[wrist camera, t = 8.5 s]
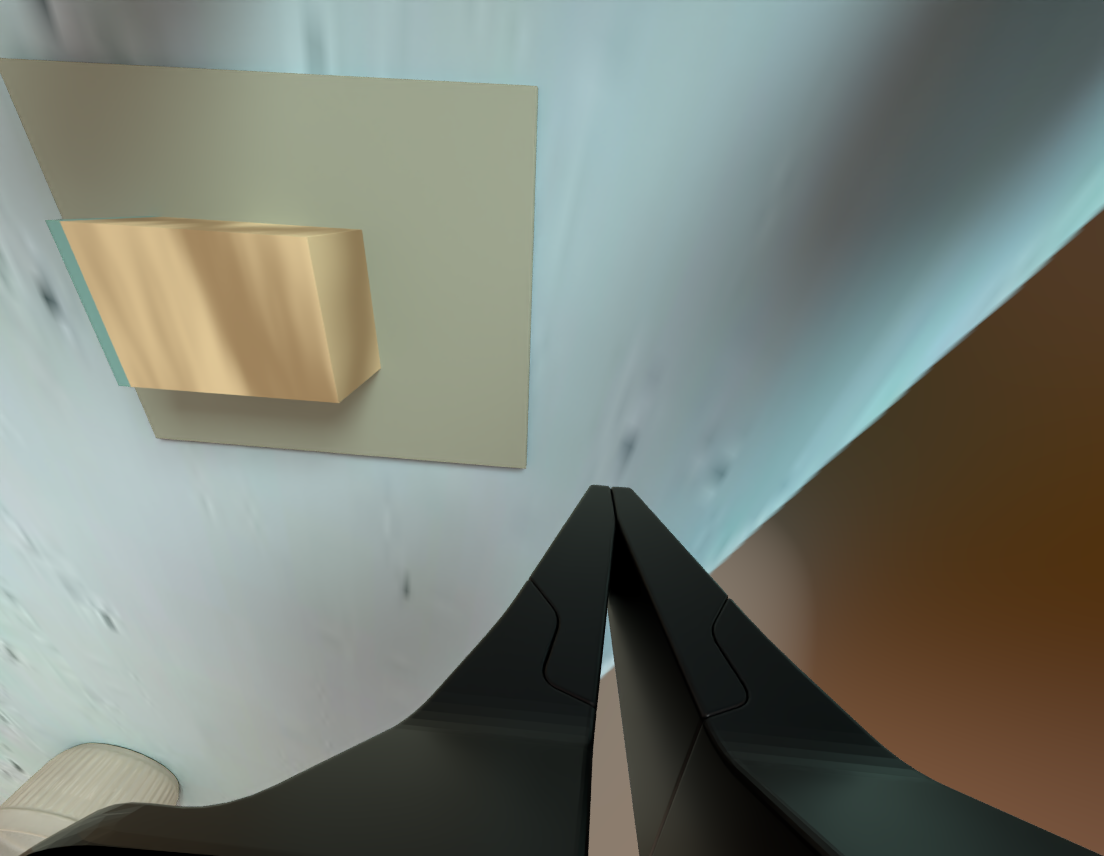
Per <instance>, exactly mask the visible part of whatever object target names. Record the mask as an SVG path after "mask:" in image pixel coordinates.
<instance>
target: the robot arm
mask: <svg viewBox="0 0 1104 856" xmlns="http://www.w3.org/2000/svg"><path fill="white" fill-rule="evenodd" d="M607 608H608V616H609V624H610V632H611V639H612V647H613V655H614V663H615V669H616V678H617V685H618V693H619V701H620V708H621V717H622V724H623V732H624V740H625V748H626V755H627V763H628V771H629V778H630V787H631V794H632V802H633V810H634V818H635V825H636V833H637V840H638V849H639V856H1102V855H1100V854H1098V853H1096V852H1093V851H1091V850H1089V849H1087V848H1084V847H1082V846H1080V845H1078V844H1075V843H1073V842H1071V841H1069V840H1066V839H1064V838H1062V837H1060V836H1057V835H1055V834H1053V833H1051V832H1048V831H1046V830H1044V829H1042V828H1039V827H1037V826H1035V825H1033V824H1030V823H1028V822H1026V821H1024V820H1021V819H1019V818H1017V817H1015V816H1012V815H1010V814H1008V813H1006V812H1003V811H1001V810H999V809H997V808H994V807H992V806H990V805H988V804H985V803H983V802H981V801H979V800H977V799H974V798H972V797H970V796H967V795H965V794H963V793H961V792H958V791H956V790H954V789H952V788H950V787H947V786H945V785H943V784H941V783H939V782H937V781H935V780H933V779H931V778H929V777H927V776H925V775H924V774H922V773H920V772H918V771H917V770H915V769H914V768H912V767H911V766H909V765H908V764H906V763H905V762H903V761H902V760H900V759H899V758H898V757H896V756H895V755H894V754H892V753H891V752H890V751H889V750H887V749H886V748H885V747H884V746H883V745H881V744H880V743H879V742H878V741H877V740H876V739H875V738H873V737H872V736H871V735H870V734H869V733H868V732H867V731H866V730H865V729H864V728H862V726H860V725H859V724H858V723H857V722H856V721H855V720H854V719H853V718H852V717H851V716H850V715H849V714H847V713H846V712H845V711H844V710H843V709H842V708H841V707H840V706H839V705H838V704H837V703H836V702H835V701H833V699H831V698H830V697H829V696H828V695H827V694H826V693H825V692H824V691H823V690H822V689H821V688H820V687H819V686H817V685H816V684H815V683H814V682H813V681H812V680H811V679H810V678H809V677H808V676H807V675H806V674H805V673H803V672H802V671H801V670H800V669H799V668H798V667H797V666H796V665H795V664H794V663H793V662H792V661H791V660H790V659H789V658H788V657H787V656H786V655H785V654H784V653H782V652H781V651H780V650H779V649H778V648H777V647H776V646H775V645H774V644H773V643H772V642H771V641H770V640H769V639H768V638H767V637H766V636H765V635H764V634H763V633H762V632H761V631H760V629H759V628H758V627H757V626H756V625H755V624H754V623H753V622H752V621H751V620H750V619H749V618H748V617H747V616H746V615H745V614H744V613H743V611H742V610H741V609H740V608H739V607H738V606H737V605H736V604H735V603H734V601H733V600H732V599H728V595H727V594H726V593H725V592H724V591H723V590H722V588H721V587H720V586H719V585H718V584H717V583H716V582H715V581H714V580H713V578H712V577H711V576H710V575H709V574H708V573H707V572H706V571H705V570H704V568H703V567H702V566H701V565H700V564H699V563H698V562H697V561H696V560H695V558H694V557H693V556H692V555H691V554H690V553H689V552H688V551H687V550H686V549H685V547H684V546H683V545H682V544H681V543H680V542H679V541H678V540H677V539H676V537H675V536H674V535H673V534H672V533H671V532H670V531H669V530H668V529H667V527H666V526H665V525H664V524H663V523H662V522H661V521H660V520H659V519H658V517H657V516H656V515H655V514H654V513H653V512H652V511H651V510H650V509H649V508H648V506H647V505H646V504H645V503H644V502H643V501H642V500H641V499H640V498H639V496H638V495H637V494H636V493H635V492H634V491H633V490H632V489H631V488H626V487H612V488H611V489H610V487H609V486H602V485H591V486H590V487H589V488H588V490H587V491H586V493H585V494H584V496H583V497H582V499H581V500H580V502H579V503H578V505H577V506H576V508H575V509H574V511H573V512H572V514H571V515H570V517H569V518H568V520H567V521H566V523H565V524H564V526H563V527H562V529H561V530H560V532H559V533H558V535H557V536H556V538H555V540H554V541H553V543H552V544H551V546H550V547H549V549H548V550H547V552H546V553H545V555H544V556H543V558H542V559H541V561H540V562H539V564H538V565H537V567H536V568H535V570H534V571H533V573H532V574H531V576H530V577H529V580H528V581H526V583H525V584H524V586H523V587H522V589H521V590H520V592H519V593H518V595H517V596H516V598H515V599H514V600H513V602H512V603H511V605H510V606H509V607H508V609H507V610H506V611H505V613H504V614H503V615H502V617H501V618H500V619H499V620H498V621H497V623H496V624H495V625H494V626H493V627H492V628H491V630H490V631H489V632H488V633H487V634H486V636H485V637H484V638H483V639H482V640H481V641H480V642H479V643H478V645H477V646H476V647H475V648H474V649H473V650H472V651H471V652H470V654H469V655H468V656H467V657H466V658H465V659H464V660H463V661H462V662H461V664H460V665H459V666H458V667H457V668H456V669H455V670H454V671H453V672H452V674H451V675H450V676H449V677H448V678H447V679H446V680H445V681H444V682H443V684H442V685H441V686H440V687H439V688H438V689H437V690H436V691H435V692H434V694H433V695H432V696H431V697H430V698H429V699H428V700H427V701H426V702H425V703H424V704H423V705H422V706H421V707H420V708H419V709H418V710H416V711H415V712H414V713H413V714H411V715H410V716H409V717H408V718H406V719H405V720H404V721H402V722H401V723H399V724H398V725H396V726H394V727H392V728H391V729H389V730H387V731H385V732H382V733H380V734H378V735H376V736H374V737H372V738H370V739H368V740H366V741H364V742H362V743H360V744H358V745H356V746H354V747H352V748H350V749H348V750H346V751H344V752H342V753H340V754H338V755H336V756H334V757H332V758H330V759H328V760H326V761H323V762H321V763H319V764H317V765H315V766H313V767H311V768H309V769H307V770H305V771H303V772H301V773H299V774H297V775H295V776H293V777H291V778H289V779H287V780H285V781H283V782H281V783H279V784H277V785H275V786H273V787H270V788H268V789H265V790H263V791H261V792H258V793H256V794H253V795H251V796H248V797H244V798H241V799H238V800H234V801H231V802H227V803H221V804H215V805H209V806H203V807H182V806H173V805H164V804H155V803H140V802H129V803H120V804H114V805H111V806H108V807H105V808H102V809H100V810H97V811H95V812H93V813H92V814H90V815H88V816H86V817H84V818H82V819H80V820H79V821H77V822H75V823H73V824H71V825H69V826H68V827H66V828H64V829H62V830H60V831H58V832H57V833H55V834H53V835H51V836H50V837H48V838H46V839H44V840H43V841H41V842H39V843H37V844H36V845H34V846H33V847H31V848H30V849H28V850H27V851H25V852H24V853H22V854H21V855H19V856H588V847H589V824H590V801H591V778H592V758H593V744H594V732H595V721H596V711H597V702H598V693H599V683H600V674H601V664H602V655H603V645H604V635H605V626H606V616H607Z"/></svg>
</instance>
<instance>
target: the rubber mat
mask: <svg viewBox="0 0 1104 856" xmlns="http://www.w3.org/2000/svg"><path fill="white" fill-rule="evenodd" d="M0 73H1V75H2V78H3V80H4V82H5V85H6V87H7V89H8V92H9V94H10V97H11V99H12V101H13V104H14V106H15V108H16V111H17V113H18V115H19V118H20V120H21V122H22V125H23V127H24V129H25V132H26V134H27V136H28V139H29V141H30V143H31V146H32V148H33V150H34V153H35V155H36V157H37V160H38V162H39V164H40V167H41V169H42V171H43V174H44V176H45V179H46V181H47V183H48V186H49V188H50V190H51V193H52V195H53V197H54V200H55V202H56V204H57V207H58V209H59V211H60V214H61V216H62V218H63V220H64V219H88V218H113V217H138V216H158V217H174V218H189V219H205V220H220V221H236V222H251V223H267V224H282V225H298V226H313V227H329V228H344V229H360V230H362V233H363V241H364V248H365V255H366V262H367V270H368V277H369V284H370V292H371V299H372V306H373V313H374V321H375V328H376V335H377V342H378V350H379V357H380V364H381V369H379V370H378V371H377V372H376V373H375V374H373V375H372V376H371V377H370V378H369V379H367V380H366V381H365V382H364V383H363V384H361V385H360V386H359V387H358V388H357V389H355V390H354V391H353V392H352V393H351V394H349V395H348V396H347V397H346V398H345V399H343V400H342V401H341V402H340V403H331V402H318V401H306V400H293V399H280V398H268V397H255V396H242V395H229V394H217V393H204V392H191V391H179V390H166V389H153V388H141V387H135V389H136V392H137V394H138V396H139V399H140V401H141V403H142V406H143V408H144V410H145V413H146V415H147V418H148V420H149V422H150V425H151V427H152V429H153V432H154V434H155V436H156V438H161V439H173V440H185V441H198V442H210V443H222V444H234V445H246V446H258V447H270V448H282V449H294V450H306V451H318V452H330V453H342V454H354V455H366V456H378V457H390V458H403V459H415V460H427V461H439V462H451V463H463V464H475V465H487V466H499V467H511V468H523V469H526V463H527V431H528V399H529V367H530V334H531V302H532V270H533V238H534V206H535V173H536V141H537V109H538V87H537V86H526V85H507V84H488V83H468V82H449V81H430V80H411V79H391V78H372V77H353V76H334V75H315V74H295V73H276V72H257V71H238V70H218V69H199V68H180V67H161V66H141V65H122V64H103V63H84V62H64V61H45V60H26V59H7V58H0Z"/></svg>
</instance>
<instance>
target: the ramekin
mask: <svg viewBox="0 0 1104 856" xmlns="http://www.w3.org/2000/svg"><path fill="white" fill-rule="evenodd" d="M178 797H179V783H178V781H177V779H176V777H175V776H174V775H173V774H172V773H171V772H170V771H169V770H168V769H167V768H165V767H164V766H163V765H161V764H159V763H158V762H156V761H154V760H153V759H151V758H148V757H146V756H144V755H142V754H140V753H137V752H134V751H132V750H129V749H125V748H122V747H118V746H114V745H108V744H101V743H85V744H81V745H78V746H75V747H73V748H71V749H68V750H65V751H63V752H62V753H60V754H59V755H57V756H55V757H54V758H53V759H51V760H50V761H49V762H48V763H47V764H45V765H44V766H43V767H42V768H41V769H40V770H39V771H38V772H37V773H35V774H34V775H33V776H32V777H31V778H30V779H29V780H28V781H27V782H26V783H24V784H23V785H22V786H21V787H20V788H19V789H18V790H17V791H16V792H15V793H14V794H13V795H12V796H11V797H9V798H8V799H7V800H6V801H5V802H4V803H3V804H2V805H1V806H0V856H19V855H21V854H22V853H24V852H25V851H27V850H28V849H30V848H31V847H33V846H34V845H36V844H37V843H39V842H41V841H43V840H44V839H46V838H48V837H50V836H51V835H53V834H55V833H57V832H58V831H60V830H62V829H64V828H66V827H68V826H69V825H71V824H73V823H75V822H77V821H79V820H80V819H82V818H84V817H86V816H88V815H90V814H92V813H93V812H95V811H97V810H100V809H102V808H105V807H108V806H111V805H114V804H120V803H129V802H140V803H155V804H164V805H173V806H176V803H177V801H178Z"/></svg>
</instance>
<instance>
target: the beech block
mask: <svg viewBox="0 0 1104 856" xmlns="http://www.w3.org/2000/svg"><path fill="white" fill-rule="evenodd" d="M45 221H46V223H47V225H48V227H49V230H50V232H51V234H52V236H53V239H54V241H55V243H56V245H57V248H58V250H59V252H60V254H61V257H62V259H63V261H64V263H65V266H66V268H67V270H68V272H69V275H70V277H71V279H72V281H73V284H74V286H75V288H76V290H77V293H78V295H79V297H80V299H81V302H82V304H83V306H84V308H85V311H86V313H87V315H88V317H89V320H90V322H91V324H92V326H93V329H94V331H95V333H96V335H97V338H98V340H99V342H100V344H101V347H102V349H103V351H104V353H105V356H106V358H107V360H108V362H109V365H110V367H111V369H112V371H113V374H114V376H115V378H116V380H117V383H118V385H119V386H128V387H141V388H153V389H166V390H179V391H191V392H204V393H217V394H229V395H242V396H255V397H268V398H280V399H293V400H306V401H318V402H331V403H340V402H341V401H342V400H343V399H345V398H346V397H347V396H348V395H349V394H351V393H352V392H353V391H354V390H355V389H357V388H358V387H359V386H360V385H361V384H363V383H364V382H365V381H366V380H367V379H369V378H370V377H371V376H372V375H373V374H375V373H376V372H377V371H378V370H379V369H381V364H380V357H379V350H378V342H377V335H376V328H375V321H374V313H373V306H372V299H371V292H370V284H369V277H368V270H367V262H366V255H365V248H364V241H363V233H362V230H360V229H344V228H329V227H313V226H298V225H282V224H267V223H251V222H236V221H220V220H205V219H189V218H174V217H158V216H138V217H113V218H88V219H64V220H45Z"/></svg>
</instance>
